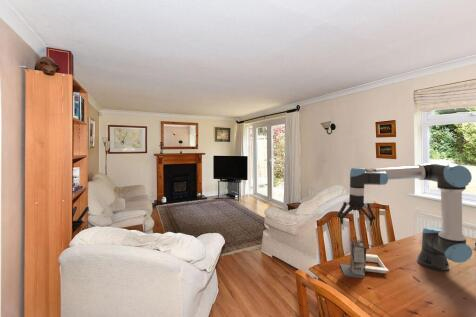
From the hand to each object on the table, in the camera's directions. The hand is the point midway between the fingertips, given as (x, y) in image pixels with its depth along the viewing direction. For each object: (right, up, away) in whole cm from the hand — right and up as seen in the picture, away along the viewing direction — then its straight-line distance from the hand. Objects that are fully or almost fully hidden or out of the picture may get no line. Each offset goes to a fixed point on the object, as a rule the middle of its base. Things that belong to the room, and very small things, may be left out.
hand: (355, 230), depth 137 cm
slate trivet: (-2, -25, 0) cm, 25 cm away
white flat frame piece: (+12, -24, +6) cm, 28 cm away
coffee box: (+1, -24, 0) cm, 24 cm away
